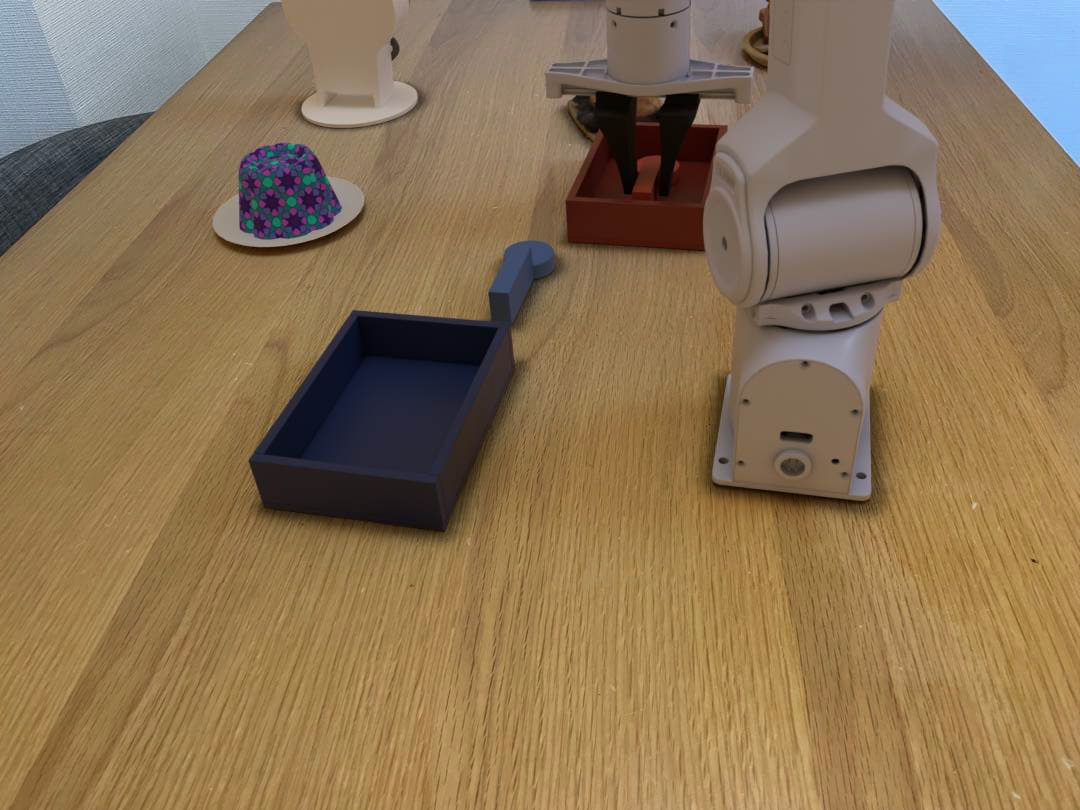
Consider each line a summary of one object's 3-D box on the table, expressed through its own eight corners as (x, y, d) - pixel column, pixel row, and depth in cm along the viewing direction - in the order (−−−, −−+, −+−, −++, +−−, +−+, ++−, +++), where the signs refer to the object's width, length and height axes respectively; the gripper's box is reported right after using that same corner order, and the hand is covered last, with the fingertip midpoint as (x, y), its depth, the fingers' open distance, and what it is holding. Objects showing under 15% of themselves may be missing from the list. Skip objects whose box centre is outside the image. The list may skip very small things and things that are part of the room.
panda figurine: (439, 84, 100) (418, -77, 91) (400, 130, 91) (372, -42, 82) (330, 81, 103) (299, -76, 93) (282, 125, 94) (242, -42, 85)
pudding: (296, 269, 73) (279, 204, 69) (182, 236, 78) (162, 174, 75) (396, 199, 80) (385, 138, 77) (287, 173, 86) (272, 115, 82)
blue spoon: (528, 328, 65) (525, 294, 63) (475, 323, 65) (471, 290, 64) (559, 256, 72) (557, 224, 70) (511, 253, 72) (508, 221, 71)
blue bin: (444, 531, 51) (435, 483, 48) (263, 507, 53) (247, 460, 51) (515, 368, 61) (510, 322, 59) (362, 353, 64) (352, 309, 61)
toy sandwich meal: (732, 73, 97) (735, 23, 94) (750, 27, 107) (753, -19, 104) (865, 78, 94) (872, 27, 91) (871, 31, 104) (878, -16, 101)
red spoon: (665, 225, 73) (665, 193, 72) (617, 222, 74) (616, 190, 72) (681, 170, 80) (682, 139, 79) (638, 168, 81) (637, 138, 79)
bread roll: (561, 109, 93) (558, 70, 91) (646, 94, 94) (645, 56, 92) (595, 153, 85) (593, 111, 83) (687, 136, 86) (688, 95, 84)
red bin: (706, 250, 71) (708, 207, 69) (567, 241, 73) (565, 200, 71) (725, 164, 81) (727, 124, 79) (603, 159, 84) (602, 120, 82)
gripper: (762, -13, 68) (749, 170, 76) (556, -14, 71) (566, 162, 80) (754, 20, 63) (741, 213, 71) (533, 18, 66) (545, 203, 74)
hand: (648, 189), depth 75 cm, fingers closed
